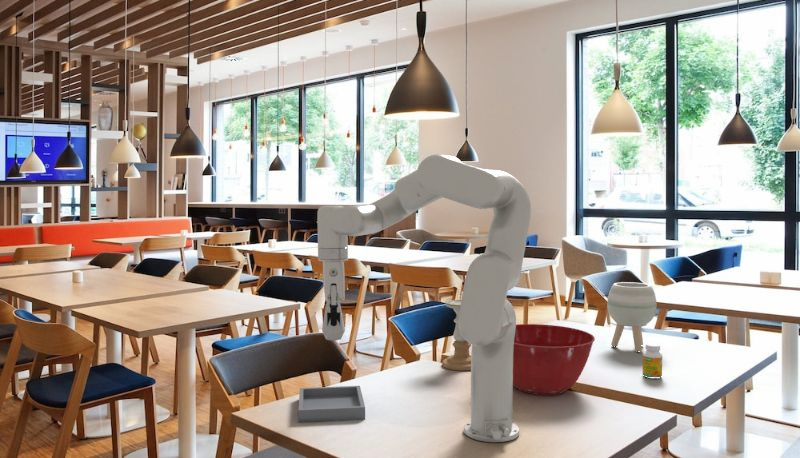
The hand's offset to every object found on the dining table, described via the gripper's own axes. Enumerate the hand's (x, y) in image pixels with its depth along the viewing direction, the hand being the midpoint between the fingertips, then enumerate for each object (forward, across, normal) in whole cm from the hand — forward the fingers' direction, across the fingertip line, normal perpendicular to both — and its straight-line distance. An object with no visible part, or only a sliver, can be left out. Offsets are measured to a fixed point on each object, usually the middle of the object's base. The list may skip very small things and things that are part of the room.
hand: (333, 326), depth 173 cm
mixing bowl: (+22, +10, -58) cm, 63 cm away
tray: (+21, 0, +1) cm, 21 cm away
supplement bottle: (+22, +17, -94) cm, 98 cm away
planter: (+22, +51, -103) cm, 117 cm away
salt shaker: (+3, 0, 0) cm, 3 cm away
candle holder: (+21, +36, -41) cm, 58 cm away
